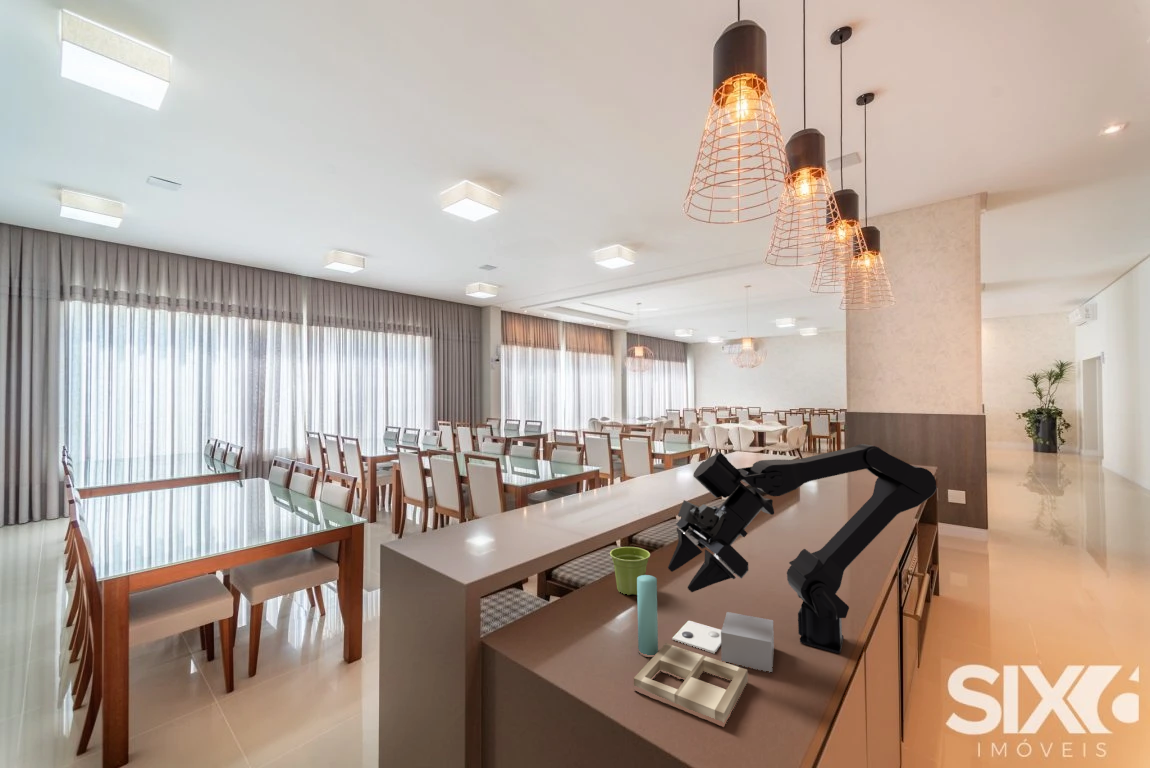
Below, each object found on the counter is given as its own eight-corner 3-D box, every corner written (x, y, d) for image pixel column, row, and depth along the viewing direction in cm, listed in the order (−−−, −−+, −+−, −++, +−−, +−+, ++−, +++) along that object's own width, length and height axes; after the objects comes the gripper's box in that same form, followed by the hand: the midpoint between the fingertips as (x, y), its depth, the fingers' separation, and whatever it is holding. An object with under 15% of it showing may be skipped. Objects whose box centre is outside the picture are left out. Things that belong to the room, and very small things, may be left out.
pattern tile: (728, 633, 88) (728, 630, 88) (714, 653, 81) (714, 650, 81) (688, 622, 92) (688, 619, 92) (672, 640, 86) (672, 637, 86)
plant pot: (624, 578, 114) (624, 543, 115) (658, 588, 108) (657, 551, 109) (602, 591, 107) (602, 554, 107) (637, 603, 101) (636, 563, 101)
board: (747, 682, 73) (747, 669, 73) (724, 728, 63) (723, 713, 63) (666, 654, 81) (665, 643, 81) (634, 691, 71) (633, 678, 71)
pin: (661, 650, 82) (659, 577, 83) (652, 659, 80) (651, 584, 80) (643, 644, 84) (642, 573, 85) (634, 653, 82) (633, 580, 82)
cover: (773, 648, 83) (773, 620, 83) (772, 672, 75) (771, 642, 75) (727, 638, 86) (726, 611, 86) (721, 661, 79) (720, 632, 79)
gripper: (684, 477, 94) (633, 534, 92) (730, 497, 75) (667, 569, 73) (721, 513, 95) (671, 571, 93) (774, 542, 77) (714, 615, 74)
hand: (679, 579), depth 83 cm, fingers open, 9 cm apart
